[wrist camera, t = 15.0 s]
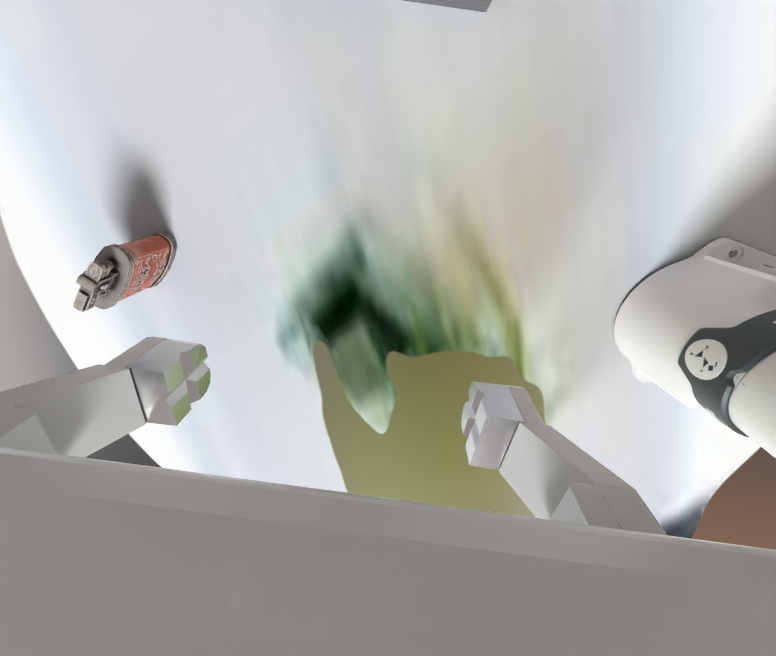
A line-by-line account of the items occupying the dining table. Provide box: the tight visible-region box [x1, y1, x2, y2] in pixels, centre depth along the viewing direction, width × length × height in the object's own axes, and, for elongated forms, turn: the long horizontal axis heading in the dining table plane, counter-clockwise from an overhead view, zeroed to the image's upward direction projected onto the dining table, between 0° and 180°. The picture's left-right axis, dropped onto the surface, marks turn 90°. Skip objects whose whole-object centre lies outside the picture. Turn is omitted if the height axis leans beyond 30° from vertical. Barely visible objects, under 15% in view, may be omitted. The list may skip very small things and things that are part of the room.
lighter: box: [73, 232, 177, 312], centre depth 35 cm, size 8×3×10 cm, turn 140°
